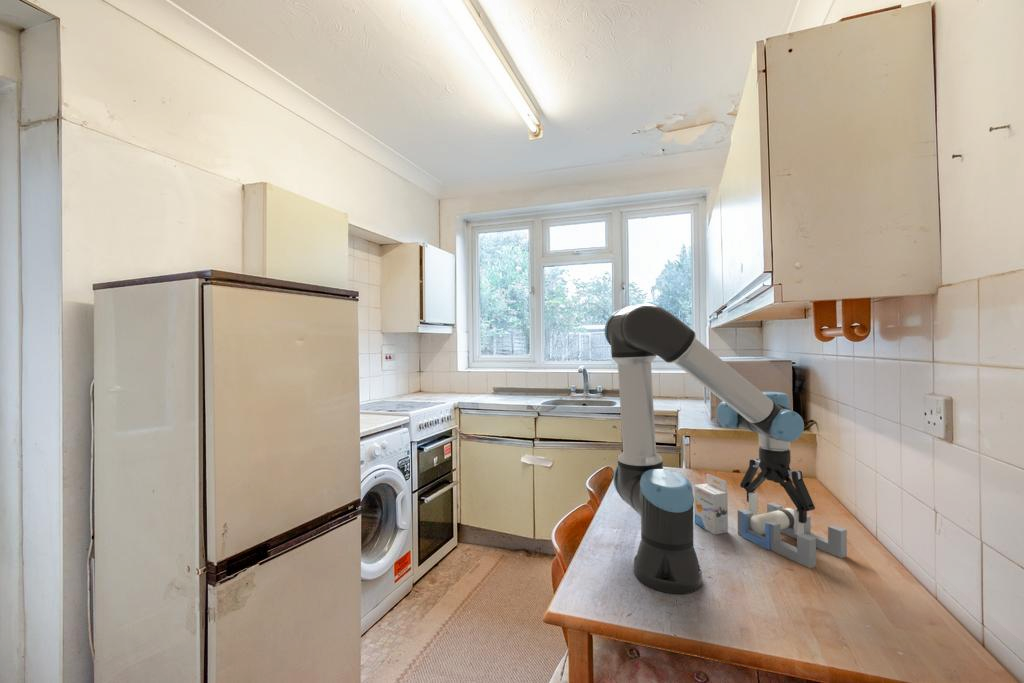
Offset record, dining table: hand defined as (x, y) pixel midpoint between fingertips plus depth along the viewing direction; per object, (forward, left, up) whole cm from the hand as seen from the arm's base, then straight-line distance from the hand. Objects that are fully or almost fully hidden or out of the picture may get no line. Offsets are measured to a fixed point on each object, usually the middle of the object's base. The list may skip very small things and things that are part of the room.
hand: (775, 523), depth 118 cm
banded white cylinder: (0, 0, -2) cm, 2 cm away
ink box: (-11, +12, -4) cm, 17 cm away
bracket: (0, -4, -4) cm, 6 cm away
